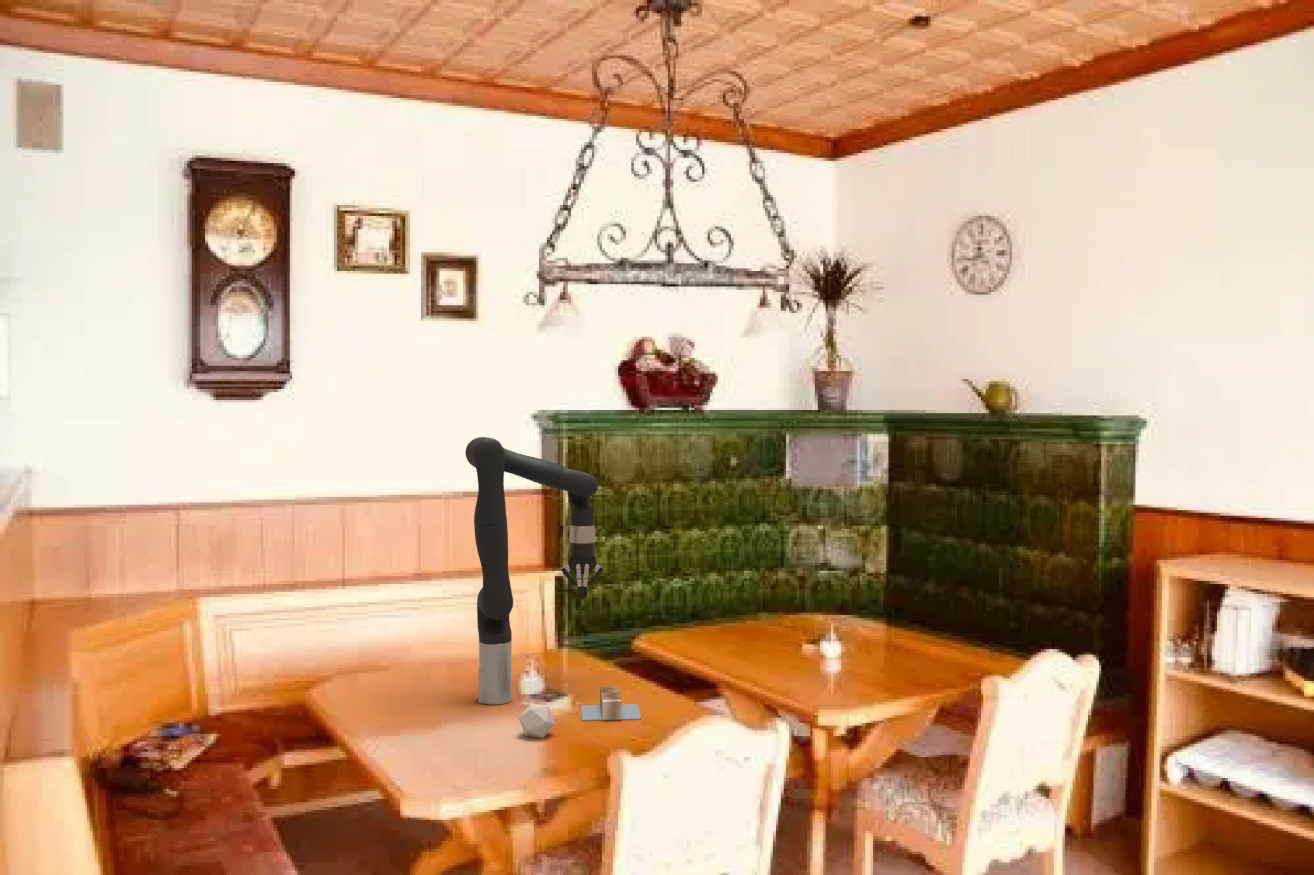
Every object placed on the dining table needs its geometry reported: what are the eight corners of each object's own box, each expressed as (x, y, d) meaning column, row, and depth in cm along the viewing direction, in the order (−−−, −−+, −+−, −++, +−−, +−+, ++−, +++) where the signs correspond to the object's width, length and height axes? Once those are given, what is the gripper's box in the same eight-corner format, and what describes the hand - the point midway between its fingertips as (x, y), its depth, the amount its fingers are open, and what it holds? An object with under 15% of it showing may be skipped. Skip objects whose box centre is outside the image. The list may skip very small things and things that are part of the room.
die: (560, 735, 296) (548, 701, 300) (555, 728, 288) (543, 693, 292) (530, 747, 295) (519, 713, 299) (524, 741, 287) (512, 705, 292)
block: (600, 704, 320) (602, 719, 306) (600, 687, 320) (602, 701, 306) (617, 704, 320) (621, 719, 307) (617, 686, 320) (621, 701, 306)
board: (582, 721, 306) (582, 719, 306) (580, 706, 319) (580, 705, 319) (641, 719, 308) (641, 718, 308) (637, 705, 320) (637, 704, 320)
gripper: (559, 542, 330) (559, 601, 331) (605, 542, 331) (605, 601, 332) (559, 538, 337) (559, 596, 338) (604, 538, 339) (603, 596, 340)
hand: (582, 598), depth 335 cm, fingers closed
